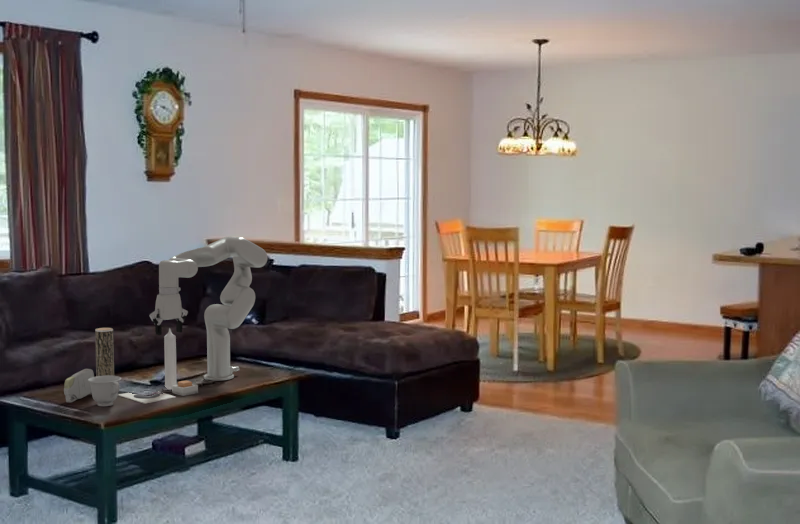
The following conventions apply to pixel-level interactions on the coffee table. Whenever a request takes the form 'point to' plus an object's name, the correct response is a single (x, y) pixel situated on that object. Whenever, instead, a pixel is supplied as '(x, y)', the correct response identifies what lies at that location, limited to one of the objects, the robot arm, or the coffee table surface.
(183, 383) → the button
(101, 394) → the teacup
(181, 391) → the button housing
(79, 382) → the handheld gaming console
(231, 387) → the coffee table surface
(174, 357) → the candle
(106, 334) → the wooden log
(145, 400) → the paper sheet
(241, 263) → the robot arm
